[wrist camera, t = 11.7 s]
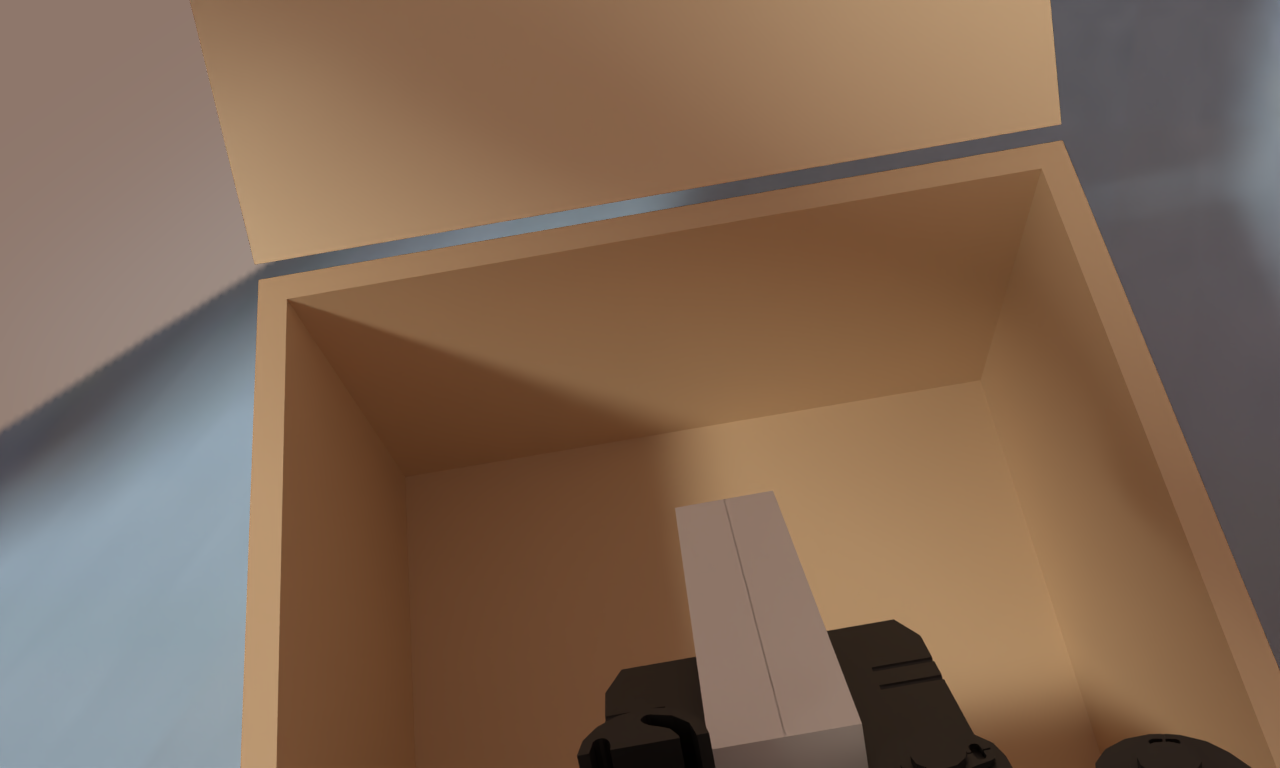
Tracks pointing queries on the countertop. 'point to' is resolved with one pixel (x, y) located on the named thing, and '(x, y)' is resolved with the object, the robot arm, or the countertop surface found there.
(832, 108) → the carton lid
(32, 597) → the countertop surface
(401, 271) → the carton
